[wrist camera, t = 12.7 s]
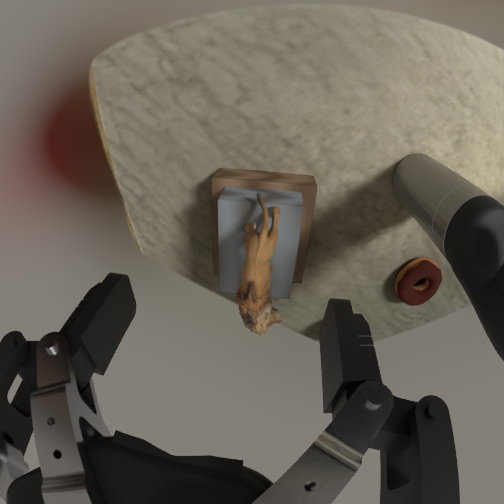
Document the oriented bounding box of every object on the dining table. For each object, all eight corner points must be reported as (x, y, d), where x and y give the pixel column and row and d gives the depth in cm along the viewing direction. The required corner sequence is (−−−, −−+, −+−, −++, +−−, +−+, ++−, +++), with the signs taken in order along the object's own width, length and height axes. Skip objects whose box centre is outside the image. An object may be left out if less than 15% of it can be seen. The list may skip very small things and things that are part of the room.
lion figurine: (283, 291, 38) (281, 341, 31) (245, 291, 39) (236, 339, 32) (280, 189, 31) (279, 225, 23) (233, 191, 31) (216, 227, 24)
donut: (437, 248, 43) (446, 260, 40) (437, 286, 47) (444, 299, 44) (390, 263, 46) (397, 276, 43) (394, 301, 50) (400, 314, 47)
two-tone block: (313, 176, 39) (322, 201, 31) (300, 265, 48) (302, 304, 39) (219, 168, 40) (201, 190, 32) (220, 257, 49) (206, 295, 40)
